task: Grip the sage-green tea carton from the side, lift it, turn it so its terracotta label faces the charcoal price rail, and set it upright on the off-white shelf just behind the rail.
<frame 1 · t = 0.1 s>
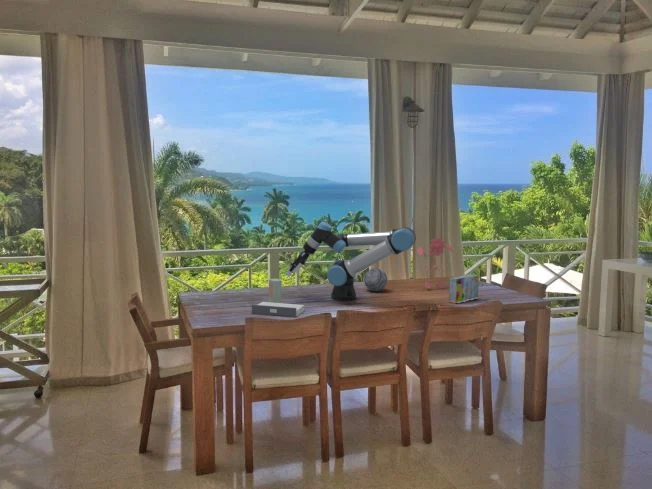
hand: (291, 273, 309), 15 cm above the table, fingers open, 13 cm apart
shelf: (278, 311, 279), on the table
decorative orb: (375, 291, 339), on the table
snack box: (463, 301, 313), on the table
tea carton: (275, 304, 297), on the table
figurine: (436, 290, 345), on the table
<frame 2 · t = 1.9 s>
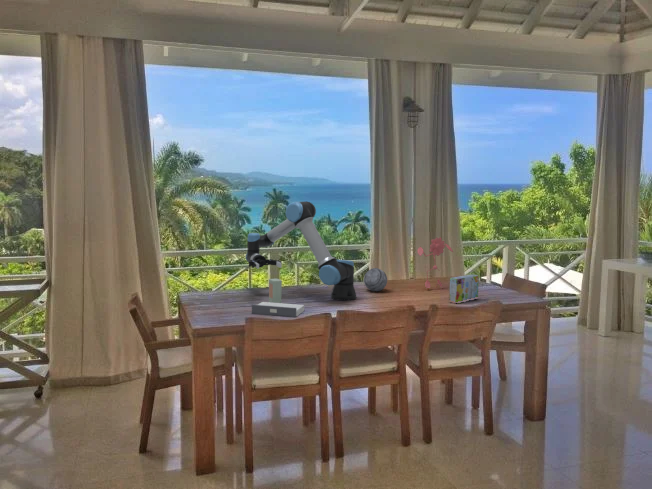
hand: (269, 265, 303), 20 cm above the table, fingers open, 13 cm apart
nothing on the table moved.
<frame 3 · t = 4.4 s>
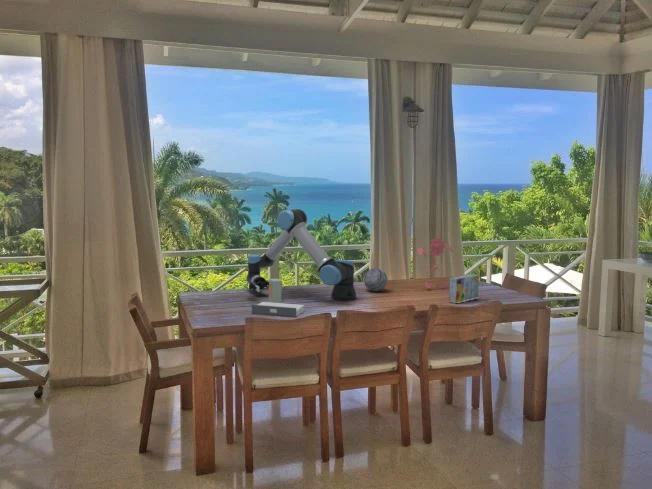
hand: (270, 288, 302), 8 cm above the table, fingers open, 13 cm apart
nothing on the table moved.
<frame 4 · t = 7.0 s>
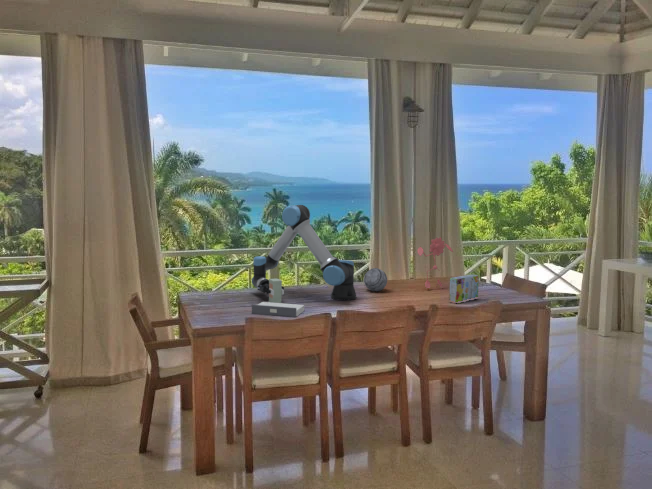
hand: (278, 292, 291), 8 cm above the table, fingers closed on tea carton, 5 cm apart
tea carton: (275, 304, 297), on the table, touching gripper
everything else where it was.
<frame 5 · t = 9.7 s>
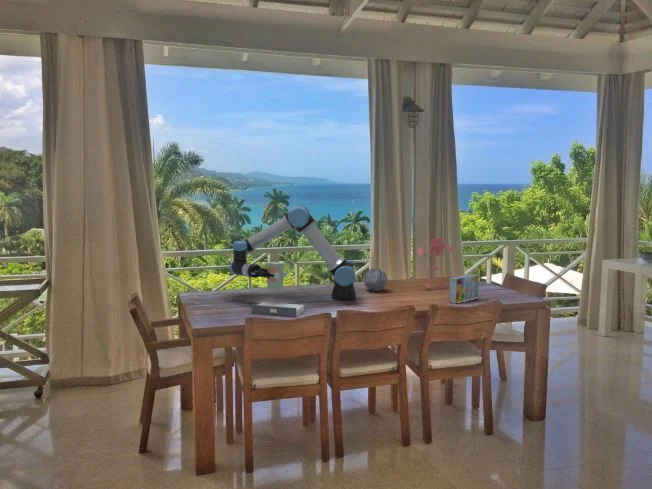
hand: (282, 275, 282), 19 cm above the table, fingers closed on tea carton, 5 cm apart
tea carton: (275, 288, 286), point 11 cm above the table, touching gripper
everything else where it was.
when the fingers open (12 cm above the table, at t = 12.3 s): tea carton drops 1 cm, resting on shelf.
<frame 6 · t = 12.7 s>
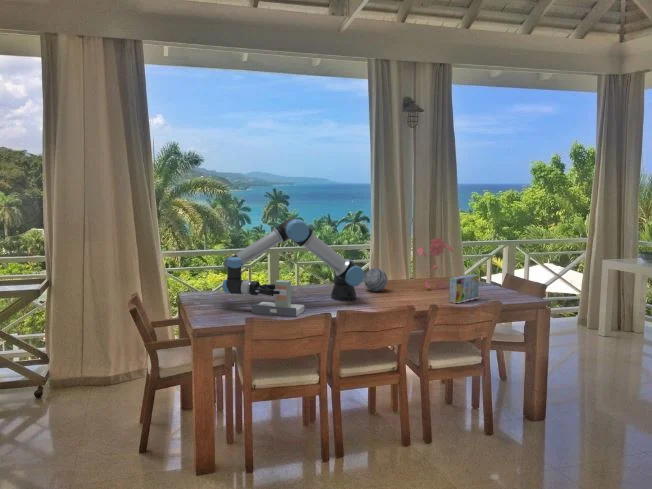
hand: (290, 290, 274), 12 cm above the table, fingers open, 11 cm apart
tea carton: (282, 307, 276), point 3 cm above the table, touching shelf
everything else where it was.
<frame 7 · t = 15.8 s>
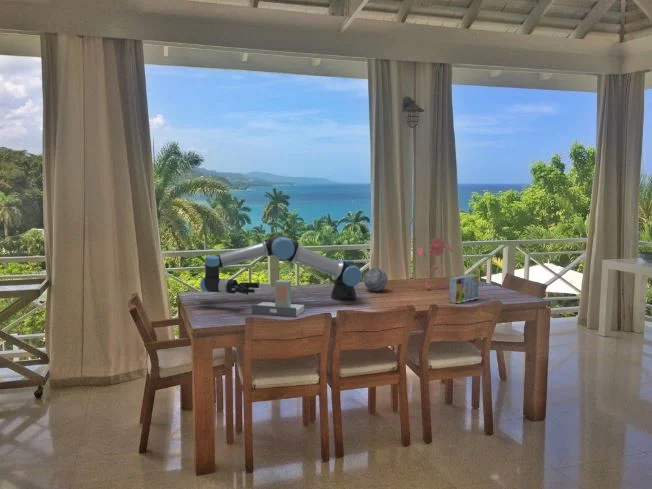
hand: (265, 288, 278), 12 cm above the table, fingers open, 13 cm apart
nothing on the table moved.
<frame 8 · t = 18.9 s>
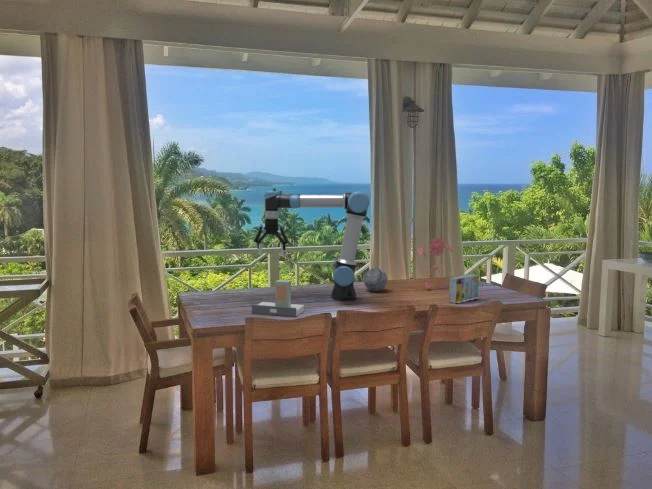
hand: (271, 255, 302), 27 cm above the table, fingers open, 13 cm apart
nothing on the table moved.
at the end: tea carton inside the target area on the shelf (3.0 cm from its centre), point 3.0 cm above the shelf's base; tea carton tilted 0°; the gripper is holding nothing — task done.
